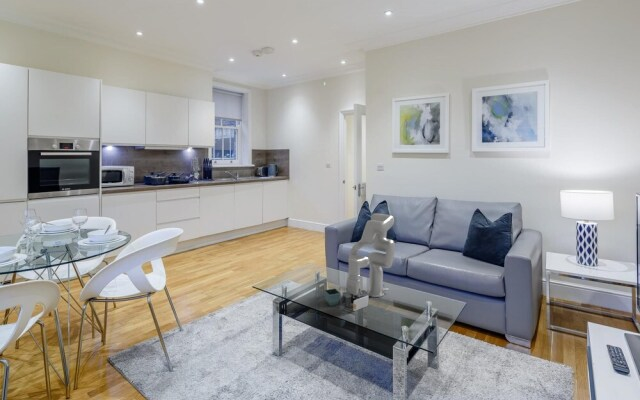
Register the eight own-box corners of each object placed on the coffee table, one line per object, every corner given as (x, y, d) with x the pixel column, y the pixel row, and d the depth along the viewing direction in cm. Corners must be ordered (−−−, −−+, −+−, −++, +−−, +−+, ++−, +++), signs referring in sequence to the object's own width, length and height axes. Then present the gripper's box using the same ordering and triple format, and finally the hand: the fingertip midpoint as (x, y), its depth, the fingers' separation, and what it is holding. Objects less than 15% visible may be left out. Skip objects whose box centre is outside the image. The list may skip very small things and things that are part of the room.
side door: (367, 305, 238) (367, 295, 237) (369, 306, 237) (369, 296, 236) (353, 310, 230) (353, 300, 229) (355, 311, 228) (355, 301, 227)
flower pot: (323, 302, 242) (323, 290, 241) (335, 300, 246) (335, 288, 244) (328, 307, 234) (329, 295, 233) (340, 305, 238) (340, 293, 236)
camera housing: (363, 299, 247) (364, 289, 246) (368, 305, 239) (368, 294, 237) (340, 301, 243) (341, 291, 242) (344, 307, 235) (344, 297, 233)
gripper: (342, 274, 233) (341, 300, 236) (358, 281, 222) (357, 308, 224) (350, 272, 238) (349, 297, 241) (366, 278, 226) (365, 305, 229)
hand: (353, 302), depth 233 cm, fingers closed
